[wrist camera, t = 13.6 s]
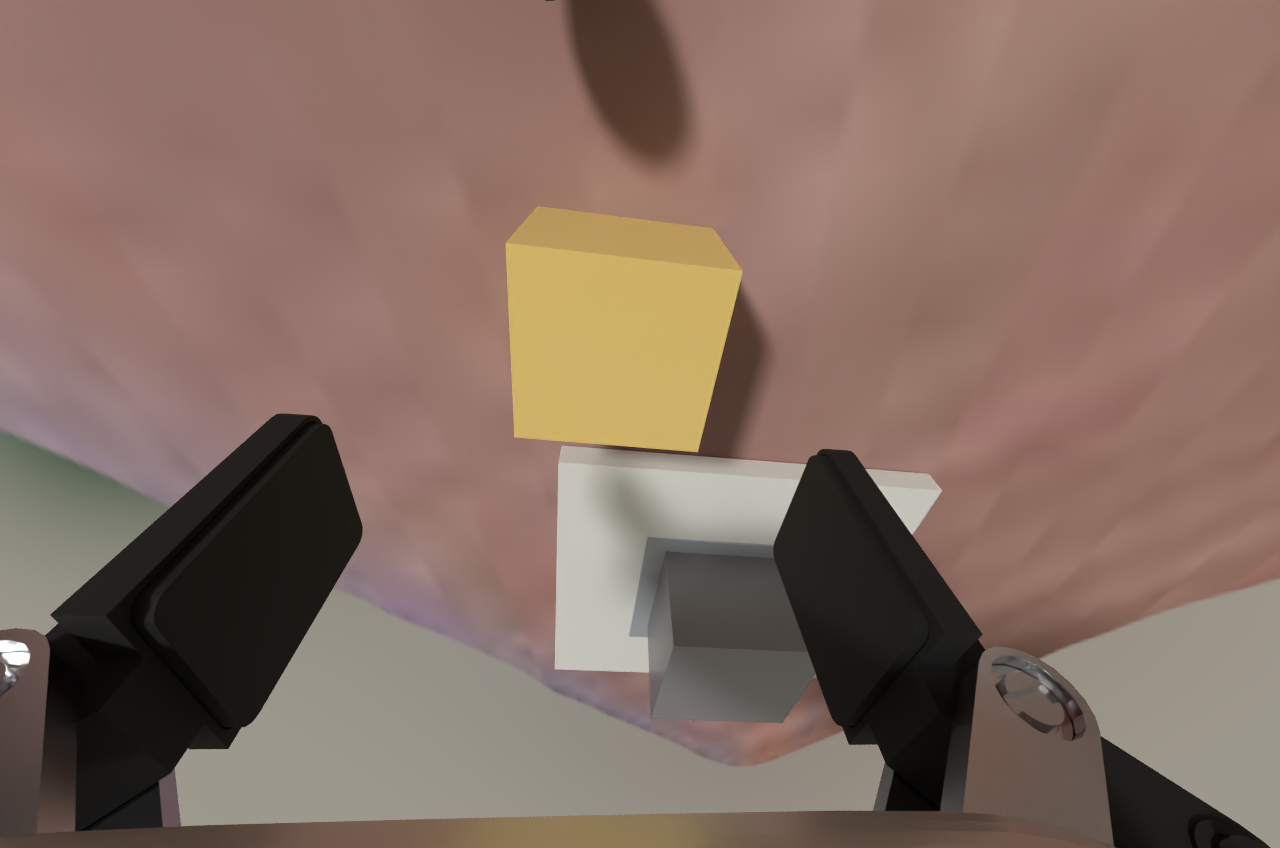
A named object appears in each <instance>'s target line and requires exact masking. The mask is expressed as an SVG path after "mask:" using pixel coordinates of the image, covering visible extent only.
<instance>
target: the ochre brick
mask: <svg viewBox="0 0 1280 848" xmlns="http://www.w3.org/2000/svg"><path fill="white" fill-rule="evenodd" d="M506 263H507V285H508V307H509V328H510V350H511V372H512V394H513V416H514V437H518V438H530V439H542V440H555V441H567V442H579V443H592V444H604V445H616V446H628V447H641V448H653V449H665V450H678V451H690V452H698V449H699V445H700V441H701V437H702V433H703V429H704V425H705V421H706V417H707V413H708V409H709V405H710V401H711V397H712V393H713V389H714V385H715V381H716V377H717V373H718V369H719V365H720V361H721V357H722V353H723V349H724V345H725V341H726V337H727V333H728V329H729V325H730V321H731V317H732V313H733V309H734V305H735V301H736V297H737V293H738V289H739V285H740V281H741V277H742V273H743V270H742V269H741V268H740V266H739V265H738V263H737V262H736V260H735V259H734V258H733V256H732V255H731V253H730V252H729V250H728V249H727V248H726V246H725V245H724V243H723V242H722V240H721V239H720V238H719V236H718V235H717V233H716V232H715V230H714V229H712V228H704V227H696V226H688V225H680V224H672V223H665V222H657V221H649V220H641V219H633V218H625V217H617V216H609V215H602V214H594V213H586V212H578V211H570V210H562V209H554V208H546V207H538V206H537V207H536V209H535V210H534V211H533V212H532V213H531V214H530V215H529V217H528V218H527V219H526V220H525V221H524V222H523V223H522V225H521V226H520V227H519V228H518V229H517V230H516V231H515V233H514V234H513V235H512V236H511V237H510V238H509V239H508V241H507V242H506Z"/></svg>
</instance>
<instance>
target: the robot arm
mask: <svg viewBox="0 0 1280 848" xmlns="http://www.w3.org/2000/svg"><path fill="white" fill-rule="evenodd" d="M361 537H362V523H361V520H360V517H359V514H358V511H357V508H356V504H355V501H354V498H353V495H352V492H351V489H350V486H349V483H348V480H347V477H346V474H345V470H344V467H343V464H342V461H341V458H340V455H339V452H338V449H337V446H336V443H335V440H334V437H333V433H332V431H331V429H330V427H329V426H328V425H326V424H322V422H321V420H320V419H319V418H318V417H316V416H312V415H297V414H276V415H275V416H273V417H272V418H271V419H269V420H268V421H267V422H266V423H265V424H264V425H263V426H262V427H260V428H259V429H258V430H257V431H256V432H255V433H254V434H253V435H251V436H250V437H249V438H248V439H247V440H246V441H245V442H244V443H243V444H241V445H240V446H239V447H238V448H237V449H236V450H235V451H234V452H232V453H231V454H230V455H229V456H228V457H227V458H226V459H225V460H223V461H222V462H221V463H220V464H219V465H218V466H217V467H216V468H214V469H213V470H212V471H211V472H210V473H209V474H208V475H207V476H205V477H204V478H203V479H202V480H201V481H200V482H199V483H198V484H196V485H195V486H194V487H193V488H192V489H191V490H190V491H189V492H187V493H186V494H185V495H184V496H183V497H182V498H181V499H180V500H179V501H177V502H176V503H175V504H174V505H173V506H172V507H171V508H170V509H168V510H167V511H166V512H165V513H164V514H163V515H162V516H161V517H160V518H158V519H157V520H156V521H155V522H154V523H153V524H152V525H151V526H149V527H148V528H147V529H146V530H145V531H144V532H143V533H142V534H140V535H139V536H138V537H137V538H136V539H135V540H134V541H132V542H131V543H130V544H129V545H128V546H127V547H126V548H125V549H123V550H122V551H121V552H120V553H119V554H118V555H117V556H116V557H115V558H113V559H112V560H111V561H110V562H109V563H108V564H107V565H106V566H104V568H102V569H101V570H100V571H99V572H98V573H97V574H96V575H94V576H93V577H92V578H91V579H90V580H89V581H88V582H86V583H85V584H84V585H83V586H82V587H81V588H80V589H79V590H78V591H76V592H75V593H74V594H73V595H72V596H71V597H70V598H68V599H67V600H66V601H65V602H64V603H63V604H62V605H61V606H60V607H58V608H57V609H56V610H55V611H54V612H53V613H52V614H51V616H52V617H53V618H54V619H55V620H56V621H57V622H58V624H57V625H56V626H55V627H54V628H53V629H52V630H51V631H50V632H49V633H47V634H46V635H45V636H44V635H42V634H40V633H39V632H37V631H35V630H28V629H17V628H15V629H8V630H1V631H0V848H1270V847H1269V846H1268V845H1267V844H1266V843H1264V842H1263V841H1262V840H1260V839H1259V838H1258V837H1256V836H1255V835H1253V834H1252V833H1251V832H1249V831H1248V830H1246V829H1245V828H1244V827H1242V826H1241V825H1240V824H1238V823H1236V822H1235V821H1233V820H1232V819H1230V818H1229V817H1227V816H1225V815H1224V814H1222V813H1220V812H1219V811H1218V810H1216V809H1214V808H1213V807H1211V806H1210V805H1208V804H1207V803H1205V802H1203V801H1202V800H1200V799H1199V798H1197V797H1196V796H1194V795H1192V794H1191V793H1189V792H1188V791H1186V790H1185V789H1183V788H1181V787H1180V786H1178V785H1177V784H1175V783H1174V782H1172V781H1170V780H1169V779H1167V778H1165V777H1164V776H1162V775H1161V774H1159V773H1158V772H1156V771H1155V770H1153V769H1152V768H1150V767H1148V766H1147V765H1145V764H1144V763H1142V762H1141V761H1139V760H1137V759H1136V758H1134V757H1133V756H1131V755H1130V754H1128V753H1126V752H1125V751H1123V750H1122V749H1120V748H1119V747H1117V746H1115V745H1114V744H1112V743H1111V742H1109V741H1108V740H1106V739H1104V738H1103V737H1101V736H1100V731H1099V728H1098V724H1097V721H1096V718H1095V716H1094V714H1093V712H1092V711H1091V709H1090V708H1089V706H1088V704H1087V702H1086V701H1085V699H1084V698H1083V697H1082V696H1081V695H1080V694H1079V693H1078V691H1077V690H1076V689H1075V688H1074V687H1073V685H1072V684H1071V683H1070V682H1069V681H1067V680H1066V679H1065V678H1064V677H1063V676H1061V675H1060V674H1059V673H1058V672H1057V671H1056V670H1055V669H1053V668H1052V667H1050V666H1049V665H1047V664H1046V663H1044V662H1043V661H1041V660H1039V659H1038V658H1036V657H1034V656H1032V655H1030V654H1028V653H1025V652H1023V651H1021V650H1019V649H1014V648H1010V647H1005V646H999V647H991V648H989V649H987V650H986V651H985V649H984V648H983V646H982V645H981V643H980V642H979V641H978V639H979V637H980V636H981V635H982V633H981V632H980V630H979V629H978V627H977V626H976V625H975V623H974V622H973V620H972V619H971V617H970V616H969V615H968V613H967V612H966V610H965V609H964V608H963V606H962V605H961V603H960V602H959V601H958V599H957V598H956V596H955V595H954V594H953V592H952V591H951V589H950V588H949V586H948V585H947V584H946V582H945V581H944V579H943V578H942V577H941V575H940V574H939V572H938V571H937V570H936V568H935V567H934V565H933V564H932V562H931V561H930V560H929V558H928V557H927V555H926V554H925V553H924V551H923V550H922V548H921V547H920V546H919V544H918V543H917V541H916V540H915V538H914V537H913V536H912V534H911V533H910V531H909V530H908V529H907V527H906V526H905V524H904V523H903V522H902V520H901V519H900V517H899V516H898V514H897V513H896V512H895V510H894V509H893V507H892V506H891V505H890V503H889V502H888V500H887V499H886V498H885V496H884V495H883V493H882V492H881V490H880V489H879V488H878V486H877V485H876V483H875V482H874V481H873V479H872V478H871V476H870V475H869V474H868V472H867V471H866V469H865V468H864V467H863V465H862V464H861V462H860V461H859V459H858V458H857V457H856V455H855V454H854V453H853V452H851V451H848V450H832V449H822V450H820V451H819V452H818V453H817V455H813V456H811V457H810V458H809V460H808V462H807V464H806V467H805V469H804V472H803V474H802V476H801V479H800V481H799V484H798V486H797V489H796V491H795V493H794V496H793V498H792V501H791V503H790V505H789V508H788V510H787V513H786V515H785V518H784V520H783V522H782V525H781V527H780V530H779V532H778V534H777V537H776V539H775V542H774V546H773V554H774V559H775V562H776V565H777V568H778V571H779V573H780V576H781V579H782V582H783V585H784V587H785V590H786V593H787V596H788V598H789V601H790V604H791V607H792V609H793V612H794V615H795V618H796V621H797V623H798V626H799V629H800V632H801V634H802V637H803V640H804V643H805V645H806V648H807V651H808V654H809V656H810V659H811V662H812V665H813V668H814V670H815V673H816V676H817V679H818V681H819V684H820V687H821V690H822V692H823V695H824V698H825V701H826V704H827V706H828V709H829V712H830V714H831V716H832V719H833V720H834V722H835V723H836V724H837V725H839V726H842V727H843V730H844V733H845V735H846V738H847V741H848V743H849V745H857V744H858V745H859V744H861V745H862V744H864V745H865V744H878V746H879V748H880V751H881V753H882V756H883V758H884V760H885V765H884V769H883V773H882V777H881V781H880V785H879V789H878V793H877V797H876V801H875V805H874V810H873V811H801V812H800V811H798V812H744V813H691V814H690V813H689V814H688V813H687V814H640V815H639V814H638V815H592V816H552V817H550V816H547V817H505V818H463V819H421V820H420V819H419V820H386V821H385V820H384V821H350V822H349V821H347V822H312V823H276V824H239V825H205V826H184V827H183V826H182V827H181V822H180V813H179V804H178V795H177V786H176V777H175V766H176V765H177V763H178V762H179V760H180V759H181V757H182V756H183V754H184V753H185V751H186V750H187V748H189V749H228V748H229V747H230V745H231V743H232V742H233V740H234V738H235V737H236V735H237V734H238V732H239V730H240V729H241V727H246V726H247V725H249V724H250V723H251V722H252V721H253V720H254V719H255V718H256V717H257V715H258V714H259V712H260V711H261V709H262V707H263V705H264V704H265V702H266V701H267V699H268V697H269V695H270V694H271V692H272V690H273V689H274V687H275V685H276V684H277V682H278V680H279V679H280V677H281V675H282V673H283V672H284V670H285V668H286V667H287V665H288V663H289V661H290V660H291V658H292V656H293V655H294V653H295V651H296V650H297V648H298V646H299V645H300V643H301V641H302V639H303V638H304V636H305V634H306V633H307V631H308V629H309V628H310V626H311V624H312V623H313V621H314V619H315V618H316V616H317V614H318V612H319V611H320V609H321V607H322V606H323V604H324V602H325V601H326V599H327V597H328V596H329V594H330V592H331V590H332V589H333V587H334V585H335V584H336V582H337V580H338V579H339V577H340V575H341V574H342V572H343V570H344V568H345V567H346V565H347V563H348V562H349V560H350V558H351V557H352V555H353V553H354V552H355V550H356V548H357V546H358V545H359V543H360V540H361Z"/></svg>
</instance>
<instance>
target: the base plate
mask: <svg viewBox="0 0 1280 848" xmlns="http://www.w3.org/2000/svg"><path fill="white" fill-rule="evenodd" d="M805 467H806V464H795V463H782V462H769V461H756V460H743V459H730V458H718V457H705V456H692V455H679V454H666V453H653V452H640V451H627V450H614V449H601V448H588V447H575V446H562V447H561V452H560V457H559V463H558V520H557V578H556V635H555V669H564V670H593V671H621V672H649V657H648V631H647V626H648V622H649V618H650V614H651V610H652V606H653V602H654V597H655V593H656V589H657V585H658V581H659V577H660V572H661V568H662V564H663V560H664V556H665V552H666V551H667V552H683V553H698V554H714V555H729V556H745V557H760V558H774V554H773V546H774V542H775V539H776V537H777V534H778V532H779V530H780V527H781V525H782V522H783V520H784V518H785V515H786V513H787V510H788V508H789V505H790V503H791V501H792V498H793V496H794V493H795V491H796V489H797V486H798V484H799V481H800V479H801V476H802V474H803V472H804V469H805ZM866 471H867V472H868V474H869V475H870V476H871V478H872V479H873V481H874V482H875V483H876V485H877V486H878V488H879V489H880V490H881V492H882V493H883V495H884V496H885V498H886V499H887V500H888V502H889V503H890V505H891V506H892V507H893V509H894V510H895V512H896V513H897V514H898V516H899V517H900V519H901V520H902V522H903V523H904V524H905V526H906V527H907V529H908V530H909V531H910V533H911V534H913V533H914V531H915V530H916V529H917V527H918V526H919V524H920V523H921V521H922V520H923V518H924V517H925V515H926V514H927V512H928V511H929V509H930V508H931V506H932V505H933V504H934V502H935V501H936V499H937V498H938V496H939V495H940V493H941V492H942V490H941V488H940V487H939V486H938V485H937V484H936V482H935V481H934V480H933V479H932V477H931V476H930V475H929V474H925V473H912V472H899V471H886V470H873V469H866ZM815 677H816V675H815ZM815 677H814V678H815Z"/></svg>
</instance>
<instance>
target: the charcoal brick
mask: <svg viewBox="0 0 1280 848" xmlns="http://www.w3.org/2000/svg"><path fill="white" fill-rule="evenodd" d="M647 631H648V657H649V683H650V709H651V719H672V720H704V721H737V722H770V723H783V721H784V720H785V718H786V717H787V715H788V714H789V712H790V711H791V710H792V708H793V707H794V705H795V704H796V702H797V701H798V700H799V698H800V697H801V695H802V694H803V692H804V691H805V689H806V688H807V687H808V685H809V684H810V682H811V681H812V679H813V678H814V677H815V675H816V673H815V670H814V668H813V665H812V662H811V659H810V656H809V654H808V651H807V648H806V645H805V643H804V640H803V637H802V634H801V632H800V629H799V626H798V623H797V621H796V618H795V615H794V612H793V609H792V607H791V604H790V601H789V598H788V596H787V593H786V590H785V587H784V585H783V582H782V579H781V576H780V573H779V571H778V568H777V565H776V562H775V559H774V558H760V557H745V556H729V555H714V554H698V553H683V552H667V551H666V552H665V556H664V560H663V564H662V568H661V572H660V577H659V581H658V585H657V589H656V593H655V597H654V602H653V606H652V610H651V614H650V618H649V622H648V626H647Z"/></svg>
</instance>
